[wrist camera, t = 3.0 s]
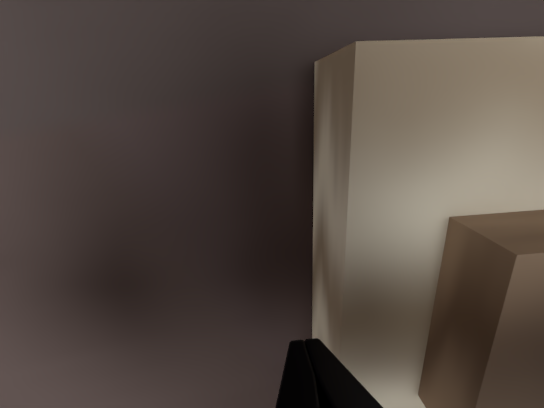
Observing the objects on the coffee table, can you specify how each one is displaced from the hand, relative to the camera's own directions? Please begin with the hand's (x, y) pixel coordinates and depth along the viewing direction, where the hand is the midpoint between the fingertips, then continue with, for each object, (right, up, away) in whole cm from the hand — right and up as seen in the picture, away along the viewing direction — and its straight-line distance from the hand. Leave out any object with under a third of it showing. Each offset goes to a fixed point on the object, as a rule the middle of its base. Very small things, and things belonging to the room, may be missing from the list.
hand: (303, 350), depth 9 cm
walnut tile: (+7, +1, +1) cm, 7 cm away
